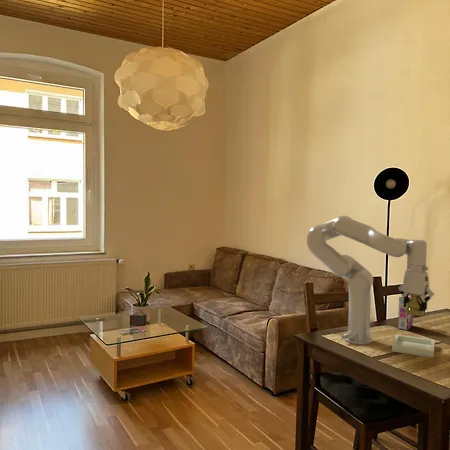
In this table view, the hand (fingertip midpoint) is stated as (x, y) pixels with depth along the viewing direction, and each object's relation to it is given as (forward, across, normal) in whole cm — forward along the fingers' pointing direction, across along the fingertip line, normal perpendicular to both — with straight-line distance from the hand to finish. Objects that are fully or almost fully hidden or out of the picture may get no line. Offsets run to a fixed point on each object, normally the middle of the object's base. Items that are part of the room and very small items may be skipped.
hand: (414, 308), depth 187 cm
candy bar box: (+18, +20, -25) cm, 37 cm away
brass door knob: (+3, 0, 0) cm, 3 cm away
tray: (+18, 0, 0) cm, 18 cm away
